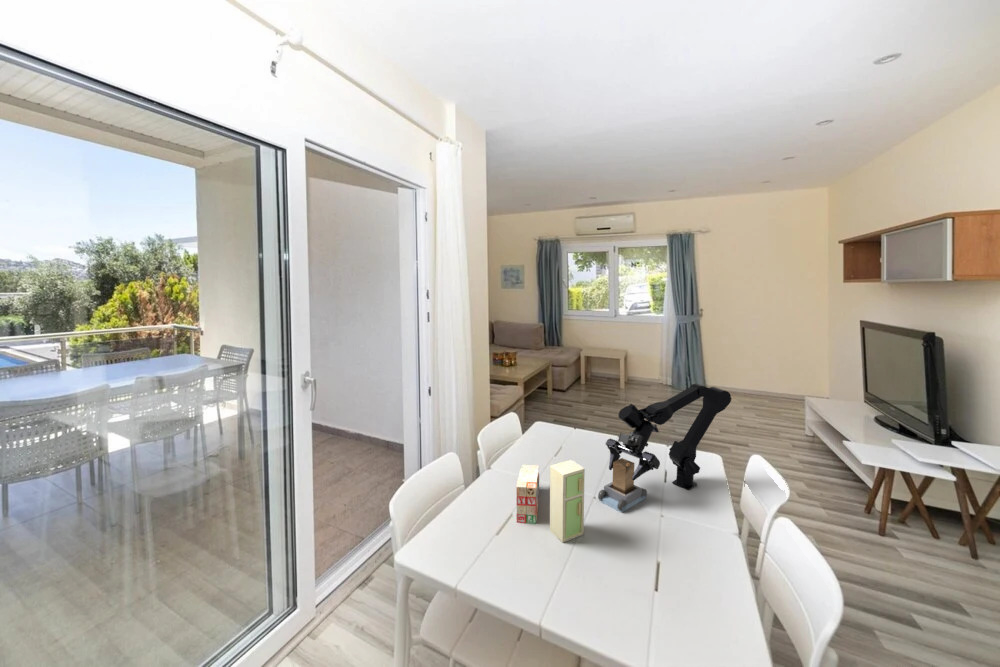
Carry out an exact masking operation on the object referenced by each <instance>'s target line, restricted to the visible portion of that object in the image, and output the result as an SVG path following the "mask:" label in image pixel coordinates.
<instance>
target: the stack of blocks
mask: <svg viewBox="0 0 1000 667" xmlns="http://www.w3.org/2000/svg"><path fill="white" fill-rule="evenodd" d="M518 475H519V476H518V478H517V482H516V523H521V524H531V525H532V524H533V525H536V524H537V518H538V510H539V497H540V465H535V464H534V465H533V464H529V465H528V464H522V465H521V468H520V469H519V474H518Z"/></svg>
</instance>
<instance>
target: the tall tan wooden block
mask: <svg viewBox="0 0 1000 667" xmlns="http://www.w3.org/2000/svg"><path fill="white" fill-rule="evenodd" d="M634 472H635V462H633V461H630V460H628V459H626V458H623V457H620V458H619V460H616V461H614V462H613V468H612V482H613V487H612V488H613V489H615V490H617V491H619V492H621V493H623V494H625V495H626V494H628V493H630V492H632V491H634V485H635V484H634V483H635V480H632V477H633V474H634Z"/></svg>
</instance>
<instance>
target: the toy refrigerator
mask: <svg viewBox="0 0 1000 667" xmlns="http://www.w3.org/2000/svg"><path fill="white" fill-rule="evenodd" d="M585 470H586V468H584V467H583V466H582V465H580V464H578V462H577V463H576V462H575V461H574V460H572V459H571V460H570V459H569V460H566V461H561V462H558V463H555V464H551V465H550V466H549V531H550V532H551V533H552V534H553V535H554V536H555V537H556V539H558V540H559V541H560V542H561V543H566V542H568V541H571V540H573V539H576V538H578V537H580V536H583V535H584V533H585V532H584V531H585V530H584V529H585V528H584V525H585V523H584V520H585V518H584V517H585V510H584V509H585V478H586V477H585V474H586V473H585Z"/></svg>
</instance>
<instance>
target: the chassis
mask: <svg viewBox="0 0 1000 667" xmlns="http://www.w3.org/2000/svg"><path fill="white" fill-rule="evenodd" d="M612 487H613V481H611V482H610V483H608V484H606V485H604V486H603V489H600V491H599V492H598V495H597V499H598V502H601V503H602V504H605V505H606V506H608V507H610V508H612V509H614V510H616V511H617V512H620V513H623V512H625V511H627V510H628V509H630V508H632V507H633V506H635V505H637V504H638V503H640V502H641V501H643V500H645V499H646V498H647V495H648V491H647V489H645V488H643V487H640V486H638V485H636V484H634V491H632V492H630V493H628V494H626V495H625V494H623V493H621V492H619V491H617V490H615V489H613V488H612Z"/></svg>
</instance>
